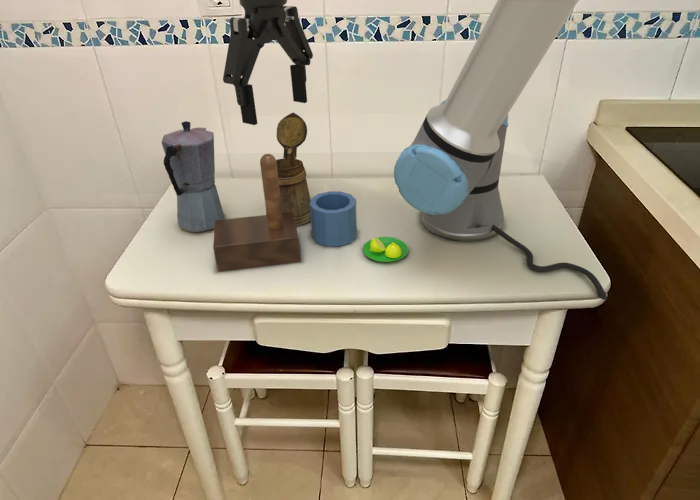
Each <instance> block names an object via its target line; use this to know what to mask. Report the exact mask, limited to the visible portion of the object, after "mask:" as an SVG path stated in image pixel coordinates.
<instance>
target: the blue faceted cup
mask: <svg viewBox="0 0 700 500" xmlns="http://www.w3.org/2000/svg"><path fill="white" fill-rule="evenodd" d="M310 199H311V201H310V218H311V221H310V230H311V231H310V232H311V238H312V240H313V241H315V243H316V244H318V245H321V246H324V247H330V248H331V247H332V248H335V247H342V246H345V245H348V244H351V243H352V242H353V241H354V240H356V239H357V234H358V233H357V232H358V230H357V225H358V224H357V223H358V222H357V198H355V196H353V195H352V194H351V193H348V192H345V191H341V190H339V191H338V190H337V191H336V190H332V191H331V190H329V191H328V190H327V191H325V192H321V193H317V194H316V195H314V196H312V197H310Z"/></svg>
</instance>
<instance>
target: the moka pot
mask: <svg viewBox="0 0 700 500" xmlns="http://www.w3.org/2000/svg"><path fill="white" fill-rule="evenodd" d="M180 123H181V126H182V129H179V130H175V131H172V132H169V133H166V134H164V135H163V137H162V139H161V146H162V149H163V152H164V157H163V166H164V169H165V171H166V173H167V175H168V178H169V180H170V183H171V185H172V187H173V190H174V192H175V195H176V209H177V211H176V213H177V214H176V215H177V217H176V218H177V224H178V226H179V228H180V229H182V230H184V231H187V232H191V233H197V232H198V233H202V232H206V231H211V230H214V229H215V220H224V219H226V217H225V214H224V210H223V206H222V204H221V200H220V195H219V192H218V188H217V186H216V184H215V183H216V178H215V172H216V169H215V168H216V167H215V166H216V164H215V133H214V132H213V131H210V130H207V128H206V127H199V126H198V127H193V128H191V122H190V121H186V120H185V121H182V122H180Z"/></svg>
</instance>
